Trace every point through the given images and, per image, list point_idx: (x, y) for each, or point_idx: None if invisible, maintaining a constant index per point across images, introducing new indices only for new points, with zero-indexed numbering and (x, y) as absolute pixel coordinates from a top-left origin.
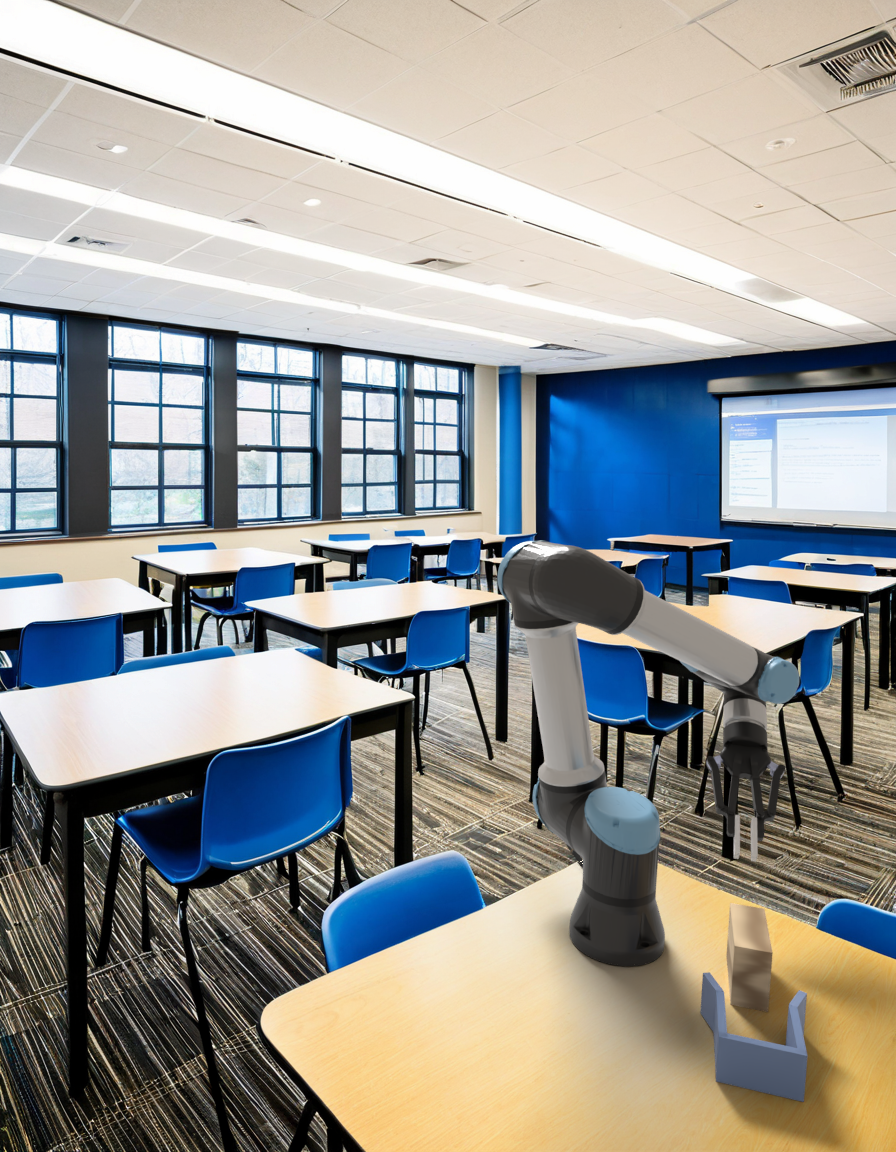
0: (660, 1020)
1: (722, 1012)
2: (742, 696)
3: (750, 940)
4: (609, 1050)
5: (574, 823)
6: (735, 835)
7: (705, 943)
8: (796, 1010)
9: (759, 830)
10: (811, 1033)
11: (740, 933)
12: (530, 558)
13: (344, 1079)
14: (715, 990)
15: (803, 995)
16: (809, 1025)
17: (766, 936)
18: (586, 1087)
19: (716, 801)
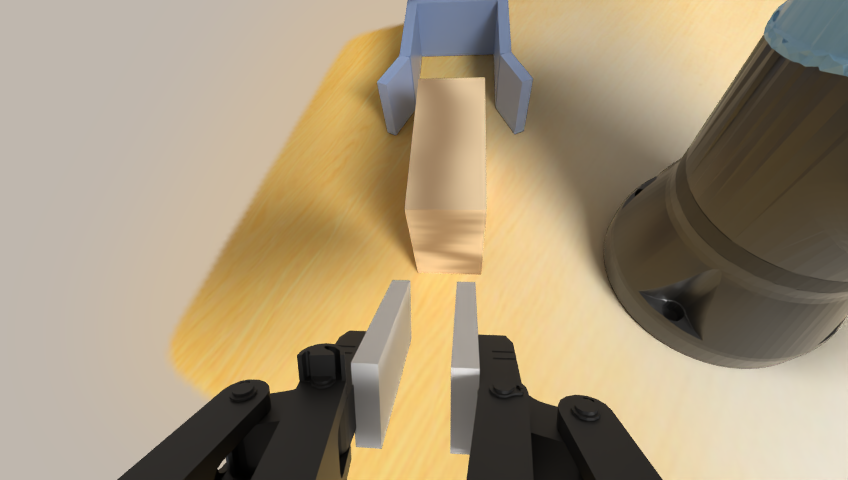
0: (576, 105)
1: (502, 23)
2: None
3: (453, 97)
4: (626, 51)
5: None
6: (475, 310)
7: (522, 306)
8: (402, 50)
9: (355, 347)
10: (376, 137)
11: (471, 111)
12: None
13: None
14: (512, 54)
15: (383, 76)
16: (374, 150)
17: (420, 116)
18: (633, 11)
19: (626, 431)
